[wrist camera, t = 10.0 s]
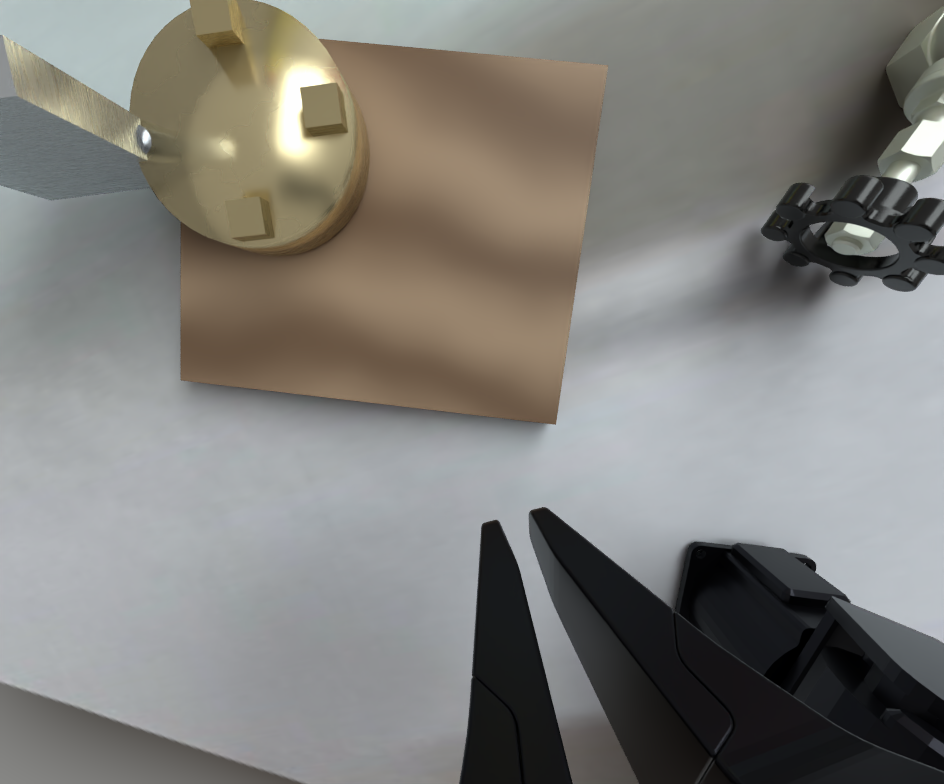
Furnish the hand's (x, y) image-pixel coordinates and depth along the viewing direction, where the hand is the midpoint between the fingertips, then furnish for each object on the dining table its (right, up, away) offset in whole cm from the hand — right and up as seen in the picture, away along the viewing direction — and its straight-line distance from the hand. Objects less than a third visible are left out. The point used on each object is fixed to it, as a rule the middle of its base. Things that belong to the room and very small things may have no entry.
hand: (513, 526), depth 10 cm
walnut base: (-5, +11, +11) cm, 16 cm away
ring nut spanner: (-13, +14, +9) cm, 21 cm away
